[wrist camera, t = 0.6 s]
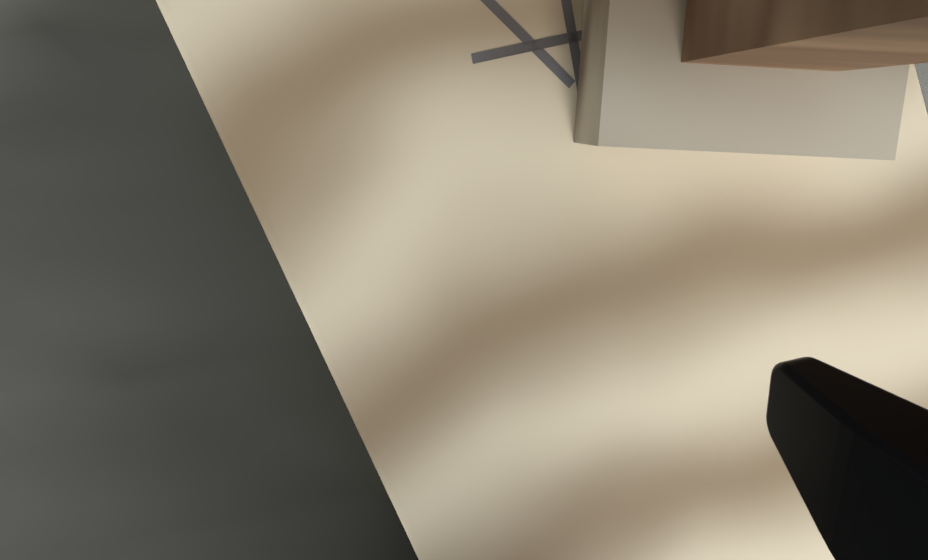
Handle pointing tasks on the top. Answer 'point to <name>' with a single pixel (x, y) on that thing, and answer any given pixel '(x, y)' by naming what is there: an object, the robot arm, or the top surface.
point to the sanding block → (748, 75)
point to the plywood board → (554, 277)
